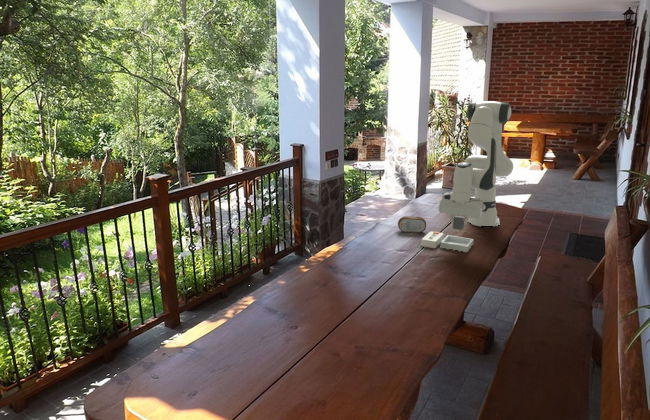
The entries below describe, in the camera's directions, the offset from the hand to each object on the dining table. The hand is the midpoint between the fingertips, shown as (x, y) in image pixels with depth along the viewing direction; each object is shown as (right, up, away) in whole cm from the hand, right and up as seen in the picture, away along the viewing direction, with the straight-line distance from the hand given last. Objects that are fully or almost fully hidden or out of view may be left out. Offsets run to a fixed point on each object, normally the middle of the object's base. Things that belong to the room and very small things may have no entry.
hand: (458, 224), depth 239 cm
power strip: (-10, -9, +10) cm, 17 cm away
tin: (-19, -5, +25) cm, 32 cm away
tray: (0, -11, +3) cm, 12 cm away
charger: (0, -3, +1) cm, 4 cm away
